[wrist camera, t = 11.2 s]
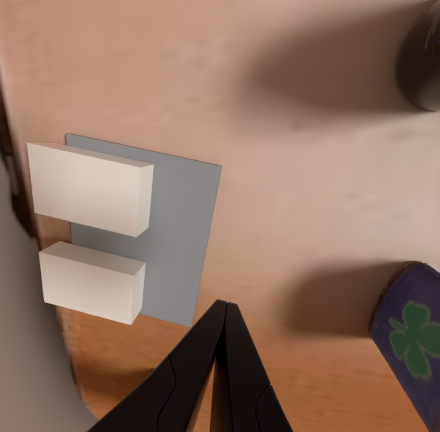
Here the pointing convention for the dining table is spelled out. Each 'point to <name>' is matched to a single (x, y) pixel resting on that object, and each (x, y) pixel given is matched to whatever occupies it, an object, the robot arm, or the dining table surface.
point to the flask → (412, 336)
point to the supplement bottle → (422, 61)
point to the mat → (162, 228)
